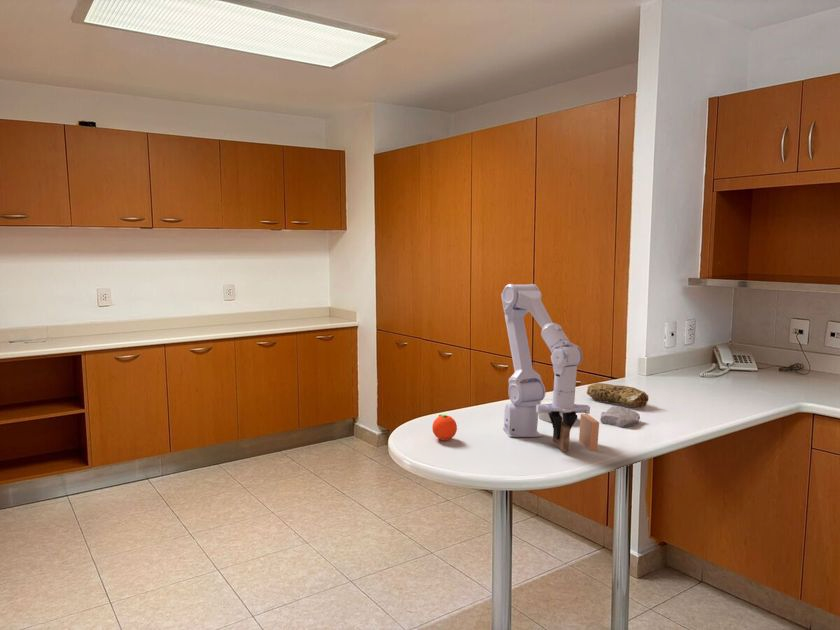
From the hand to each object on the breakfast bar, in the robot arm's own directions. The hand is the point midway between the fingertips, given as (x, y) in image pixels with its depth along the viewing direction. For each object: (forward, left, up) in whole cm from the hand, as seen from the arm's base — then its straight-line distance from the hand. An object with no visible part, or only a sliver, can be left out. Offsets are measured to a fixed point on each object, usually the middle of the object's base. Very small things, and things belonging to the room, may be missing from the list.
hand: (560, 438), depth 166 cm
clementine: (-31, +9, -3) cm, 32 cm away
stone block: (+29, +25, -4) cm, 38 cm away
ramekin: (+8, +29, -3) cm, 30 cm away
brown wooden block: (0, 0, -2) cm, 2 cm away
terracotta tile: (+9, +3, -3) cm, 10 cm away
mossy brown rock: (+38, +49, -3) cm, 62 cm away
